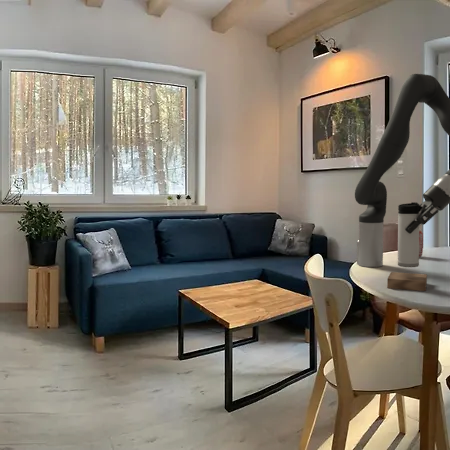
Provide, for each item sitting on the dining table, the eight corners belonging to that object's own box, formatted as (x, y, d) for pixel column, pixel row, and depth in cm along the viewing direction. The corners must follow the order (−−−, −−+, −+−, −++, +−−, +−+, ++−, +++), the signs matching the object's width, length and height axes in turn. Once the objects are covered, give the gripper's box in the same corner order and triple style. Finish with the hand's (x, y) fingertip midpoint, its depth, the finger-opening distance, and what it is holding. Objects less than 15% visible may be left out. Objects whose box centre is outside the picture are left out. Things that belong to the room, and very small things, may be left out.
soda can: (413, 258, 195) (414, 230, 193) (401, 256, 201) (402, 229, 200) (426, 257, 197) (426, 229, 196) (413, 255, 204) (414, 228, 203)
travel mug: (423, 265, 145) (424, 202, 143) (411, 268, 141) (411, 203, 139) (406, 263, 150) (406, 202, 148) (393, 265, 146) (394, 203, 144)
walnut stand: (387, 287, 143) (387, 278, 143) (390, 280, 153) (391, 272, 153) (425, 291, 139) (425, 281, 138) (426, 283, 149) (426, 274, 148)
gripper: (425, 183, 150) (388, 220, 151) (443, 184, 135) (402, 224, 137) (441, 199, 150) (404, 236, 152) (461, 201, 136) (420, 241, 137)
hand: (403, 230), depth 144 cm, fingers closed on travel mug, 6 cm apart
